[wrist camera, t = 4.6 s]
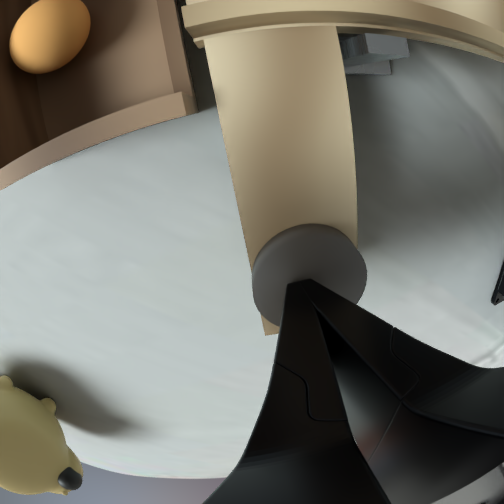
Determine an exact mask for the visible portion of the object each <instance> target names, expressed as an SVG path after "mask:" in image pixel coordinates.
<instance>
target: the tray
mask: <svg viewBox="0 0 504 504" xmlns="http://www.w3.org/2000/svg"><path fill="white" fill-rule="evenodd" d="M38 1H39V0H0V190H2V189H4V188H5V187H7V186H9V185H11V184H13V183H14V182H16V181H18V180H20V179H22V178H24V177H26V176H28V175H29V174H31V173H33V172H35V171H37V170H39V169H41V168H43V167H46V166H48V165H50V164H52V163H54V162H56V161H58V160H60V159H63V158H65V157H67V156H69V155H72V154H74V153H76V152H79V151H81V150H84V149H86V148H88V147H91V146H93V145H96V144H99V143H101V142H104V141H107V140H109V139H112V138H115V137H118V136H120V135H123V134H126V133H129V132H132V131H135V130H138V129H141V128H145V127H148V126H151V125H154V124H158V123H161V122H165V121H168V120H172V119H176V118H179V117H183V116H187V115H191V114H195V113H199V111H198V106H197V102H196V97H195V92H194V87H193V83H192V78H191V73H190V68H189V63H188V58H187V53H186V48H185V43H184V38H183V33H182V28H181V22H180V17H179V12H178V7H177V1H176V0H81V1H82V2H83V3H84V4H85V6H86V7H87V9H88V11H89V14H90V21H91V24H90V31H89V35H88V38H87V40H86V42H85V44H84V46H83V47H82V49H81V50H80V51H79V53H78V54H77V55H76V56H75V57H74V58H73V59H72V60H71V61H70V62H68V63H67V64H66V65H64V66H62V67H61V68H59V69H57V70H54V71H52V72H48V73H43V74H32V73H28V72H25V71H23V70H22V69H20V68H19V67H18V66H17V65H16V64H15V63H14V61H13V60H12V57H11V54H10V49H9V43H10V37H11V33H12V30H13V28H14V26H15V24H16V22H17V21H18V19H19V18H20V16H21V15H22V14H23V13H24V12H25V11H26V10H27V9H28V8H29V7H30V6H32V5H33V4H34V3H36V2H38Z"/></svg>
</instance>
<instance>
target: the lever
mask: <svg viewBox="0 0 504 504" xmlns="http://www.w3.org/2000/svg"><path fill="white" fill-rule="evenodd" d="M186 4H187V5H186V6H182V7H181V9H182V15H183V20H184V25H185V28H186V30H187V31H188V32H189V34H190V35H191V36H192V38H193V40H194V43H195V44H196V45H197V47H198V48H204V47H205V50H206V55H207V60H208V65H209V70H210V75H211V79H212V84H213V89H214V94H215V99H216V104H217V109H218V114H219V118H220V123H221V128H222V133H223V138H224V143H225V148H226V152H227V157H228V162H229V167H230V172H231V176H232V181H233V186H234V191H235V196H236V200H237V205H238V210H239V215H240V219H241V224H242V229H243V234H244V238H245V243H246V248H247V252H248V257H249V262H250V267H251V271H252V288H253V298H254V302H255V305H256V307H257V309H258V310H259V312H260V313H261V318H262V323H263V327H264V332H265V336H266V335H272V334H278V333H279V329H280V323H281V317H282V310H283V304H284V298H285V291H286V285H287V284H288V283H292V282H296V281H300V280H304V279H308V278H311V279H313V280H315V281H316V282H318V283H320V284H322V285H323V286H325V287H327V288H329V289H330V290H332V291H334V292H335V293H337V294H339V295H341V296H342V297H344V298H346V299H348V300H349V301H351V302H353V303H354V304H357V303H358V301H359V300H360V298H361V296H362V294H363V292H364V289H365V286H366V281H367V270H366V265H365V262H364V259H363V258H362V256H361V254H360V253H359V251H358V250H357V239H358V232H357V189H356V170H355V155H354V143H353V133H352V123H351V114H350V106H349V98H348V91H347V84H346V78H345V72H344V66H343V60H342V55H341V49H340V44H339V39H338V35H337V33H350V34H363V33H371V34H381V35H389V36H396V37H403V38H406V39H413V40H419V41H425V42H430V43H435V44H440V45H444V46H449V47H453V48H457V49H461V50H464V51H468V52H471V53H475V54H478V55H481V56H485V57H488V58H491V59H493V60H496V61H499V62H502V63H504V0H186Z"/></svg>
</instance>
